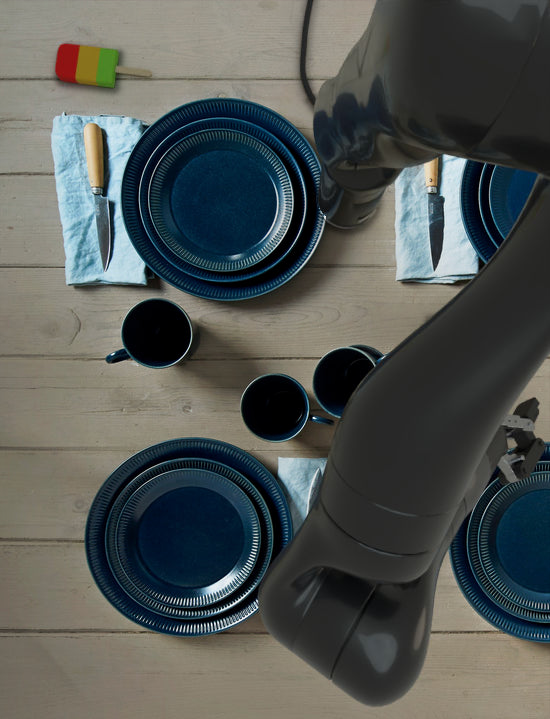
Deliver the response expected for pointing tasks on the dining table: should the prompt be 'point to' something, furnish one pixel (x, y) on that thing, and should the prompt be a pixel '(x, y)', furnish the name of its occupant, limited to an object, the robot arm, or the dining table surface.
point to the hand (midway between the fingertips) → (502, 369)
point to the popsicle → (91, 65)
